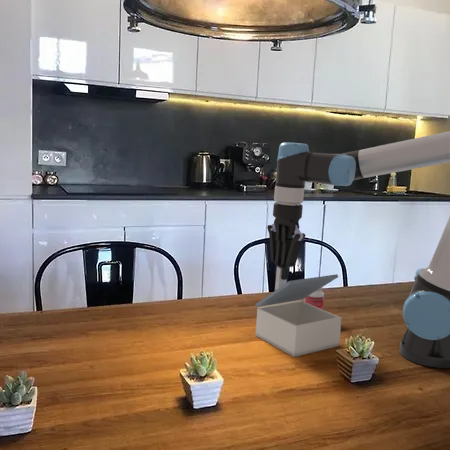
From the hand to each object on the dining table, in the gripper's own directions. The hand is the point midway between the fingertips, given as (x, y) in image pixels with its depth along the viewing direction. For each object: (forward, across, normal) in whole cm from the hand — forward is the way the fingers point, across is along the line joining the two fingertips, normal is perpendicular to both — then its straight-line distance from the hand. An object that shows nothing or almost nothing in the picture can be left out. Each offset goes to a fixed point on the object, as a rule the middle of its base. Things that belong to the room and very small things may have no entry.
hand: (280, 290), depth 142 cm
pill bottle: (+15, +9, -22) cm, 28 cm away
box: (+14, -3, -5) cm, 15 cm away
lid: (+1, -1, -5) cm, 5 cm away
